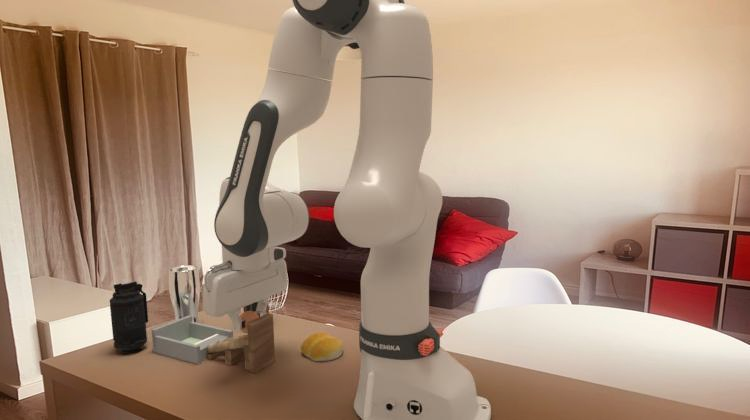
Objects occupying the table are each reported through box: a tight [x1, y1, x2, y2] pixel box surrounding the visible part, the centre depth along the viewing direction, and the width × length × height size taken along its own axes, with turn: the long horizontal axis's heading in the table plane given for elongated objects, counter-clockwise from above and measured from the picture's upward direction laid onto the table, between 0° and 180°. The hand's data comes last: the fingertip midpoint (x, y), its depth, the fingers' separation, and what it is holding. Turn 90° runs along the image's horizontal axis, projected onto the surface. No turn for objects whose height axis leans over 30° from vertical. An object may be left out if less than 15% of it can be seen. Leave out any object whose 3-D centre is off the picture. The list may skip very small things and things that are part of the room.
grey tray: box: [151, 315, 234, 365], centre depth 107 cm, size 14×10×5 cm
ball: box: [239, 311, 259, 334], centre depth 99 cm, size 4×4×4 cm
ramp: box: [206, 312, 276, 374], centre depth 101 cm, size 14×6×10 cm, turn 61°
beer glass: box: [168, 264, 201, 324], centre depth 119 cm, size 7×7×15 cm
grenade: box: [109, 281, 149, 354], centre depth 108 cm, size 7×7×15 cm
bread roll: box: [300, 332, 344, 362], centre depth 104 cm, size 8×9×4 cm
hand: (249, 324), depth 99 cm, fingers closed on ball, 4 cm apart
